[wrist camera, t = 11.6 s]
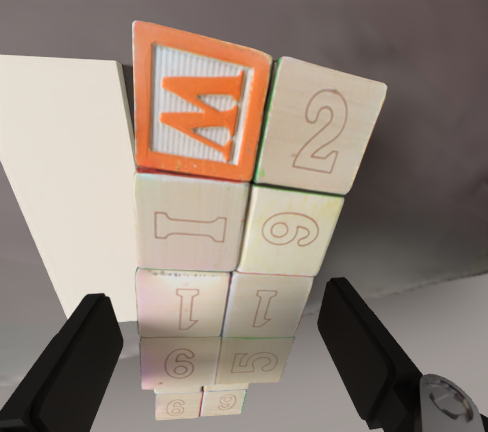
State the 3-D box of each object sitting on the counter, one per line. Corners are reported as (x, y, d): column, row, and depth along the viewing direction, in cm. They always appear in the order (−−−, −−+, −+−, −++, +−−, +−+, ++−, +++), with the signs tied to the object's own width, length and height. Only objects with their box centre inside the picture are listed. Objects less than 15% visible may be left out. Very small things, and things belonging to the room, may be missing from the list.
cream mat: (121, 64, 15) (115, 60, 14) (164, 310, 24) (162, 318, 23) (-29, 56, 14) (-46, 52, 13) (76, 318, 23) (70, 326, 22)
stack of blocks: (230, 314, 25) (246, 476, 13) (173, 313, 23) (137, 490, 12) (273, 105, 16) (401, 79, 5) (188, 87, 15) (125, 3, 4)
